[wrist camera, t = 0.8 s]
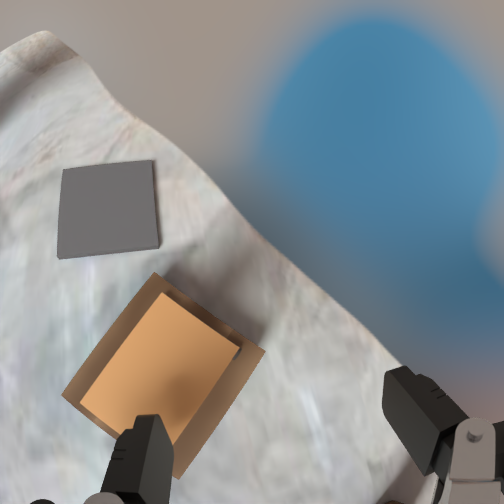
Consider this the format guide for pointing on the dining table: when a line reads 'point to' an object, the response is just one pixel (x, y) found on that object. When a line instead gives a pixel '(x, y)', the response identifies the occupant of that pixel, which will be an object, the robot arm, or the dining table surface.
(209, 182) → the dining table surface
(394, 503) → the beer bottle
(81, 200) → the pad
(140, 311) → the brown socket base
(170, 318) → the striped orange pillar
